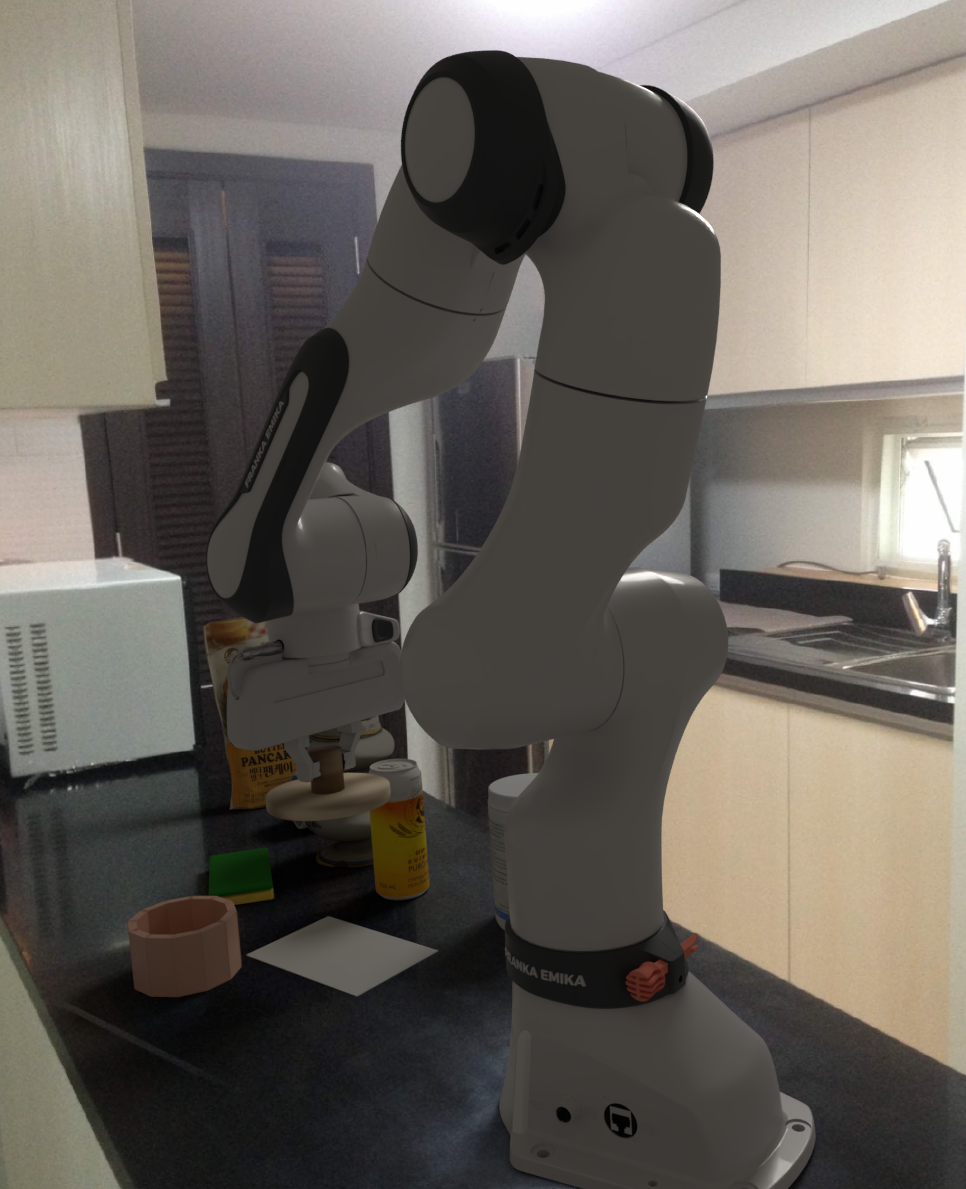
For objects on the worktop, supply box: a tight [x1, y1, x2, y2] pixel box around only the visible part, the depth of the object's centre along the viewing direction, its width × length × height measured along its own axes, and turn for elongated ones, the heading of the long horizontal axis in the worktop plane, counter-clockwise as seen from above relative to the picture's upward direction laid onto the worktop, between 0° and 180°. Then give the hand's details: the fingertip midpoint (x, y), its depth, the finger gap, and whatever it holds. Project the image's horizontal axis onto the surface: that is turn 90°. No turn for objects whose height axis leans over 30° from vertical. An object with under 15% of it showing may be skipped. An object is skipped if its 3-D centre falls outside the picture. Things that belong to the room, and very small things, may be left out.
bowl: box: [127, 895, 243, 998], centre depth 105 cm, size 10×10×6 cm
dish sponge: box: [208, 847, 275, 906], centre depth 129 cm, size 7×14×2 cm, turn 14°
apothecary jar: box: [305, 715, 395, 869], centre depth 135 cm, size 12×12×18 cm
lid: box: [265, 745, 391, 822], centre depth 105 cm, size 12×12×5 cm
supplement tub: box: [487, 772, 539, 931], centre depth 112 cm, size 10×10×15 cm
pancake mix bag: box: [201, 616, 297, 810], centre depth 162 cm, size 7×19×28 cm, turn 119°
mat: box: [245, 915, 439, 997], centre depth 107 cm, size 16×11×1 cm
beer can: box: [368, 758, 430, 901], centre depth 122 cm, size 6×6×15 cm
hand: (327, 774), depth 105 cm, fingers closed on lid, 3 cm apart
